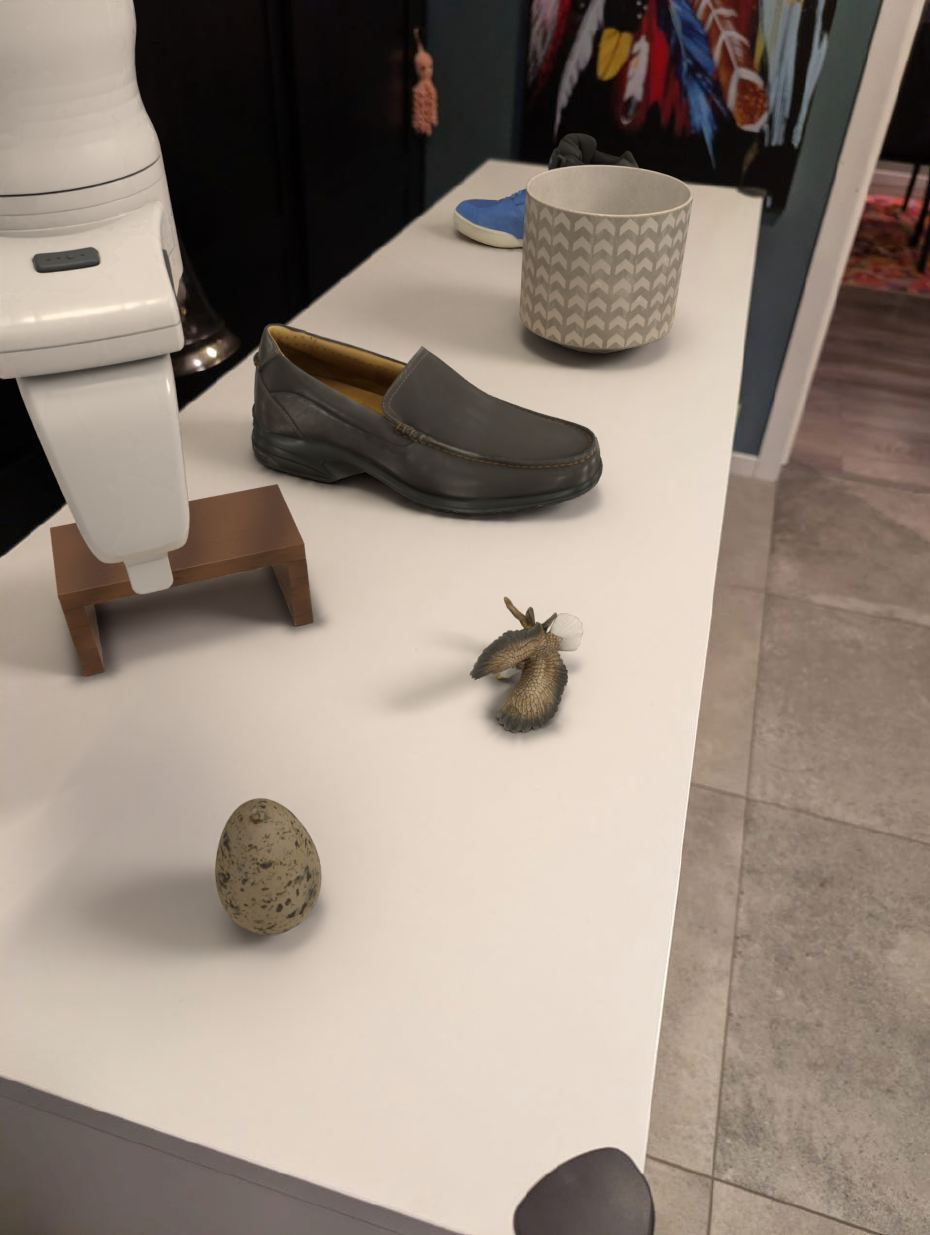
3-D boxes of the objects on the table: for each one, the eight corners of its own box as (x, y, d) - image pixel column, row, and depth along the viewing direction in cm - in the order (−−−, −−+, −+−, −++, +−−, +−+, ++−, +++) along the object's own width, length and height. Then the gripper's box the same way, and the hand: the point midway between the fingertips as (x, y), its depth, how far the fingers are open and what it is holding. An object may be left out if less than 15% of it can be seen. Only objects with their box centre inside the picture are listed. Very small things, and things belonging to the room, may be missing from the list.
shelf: (84, 676, 73) (57, 595, 68) (75, 606, 80) (49, 527, 75) (313, 622, 79) (304, 543, 73) (287, 560, 85) (277, 483, 80)
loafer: (588, 540, 88) (603, 412, 80) (225, 483, 94) (204, 359, 86) (607, 467, 98) (623, 347, 89) (278, 421, 104) (263, 304, 96)
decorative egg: (340, 882, 60) (327, 777, 53) (304, 968, 55) (285, 865, 49) (251, 862, 61) (228, 756, 54) (209, 944, 56) (178, 840, 50)
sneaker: (465, 220, 155) (467, 109, 145) (645, 242, 148) (660, 127, 138) (440, 246, 146) (439, 129, 136) (630, 270, 139) (645, 150, 129)
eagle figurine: (474, 628, 76) (444, 688, 69) (529, 569, 73) (504, 626, 65) (547, 686, 77) (526, 752, 70) (605, 631, 74) (590, 694, 66)
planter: (660, 382, 112) (685, 223, 101) (502, 361, 116) (509, 205, 104) (676, 319, 126) (699, 172, 115) (535, 302, 130) (544, 159, 118)
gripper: (-29, 175, 44) (53, 439, 53) (-18, 356, 30) (92, 676, 39) (112, 160, 46) (169, 418, 55) (186, 325, 32) (247, 637, 41)
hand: (138, 527), depth 47 cm, fingers open, 8 cm apart
